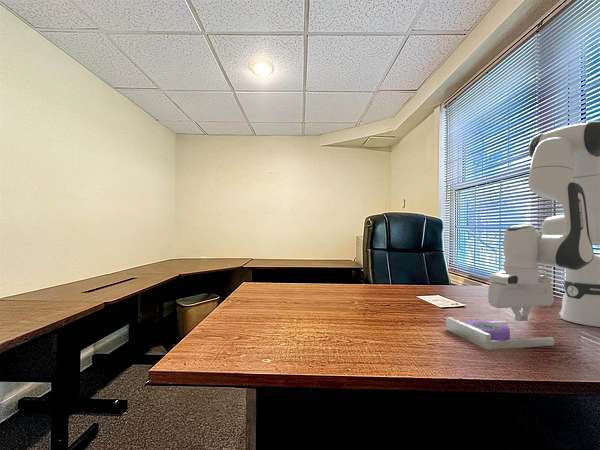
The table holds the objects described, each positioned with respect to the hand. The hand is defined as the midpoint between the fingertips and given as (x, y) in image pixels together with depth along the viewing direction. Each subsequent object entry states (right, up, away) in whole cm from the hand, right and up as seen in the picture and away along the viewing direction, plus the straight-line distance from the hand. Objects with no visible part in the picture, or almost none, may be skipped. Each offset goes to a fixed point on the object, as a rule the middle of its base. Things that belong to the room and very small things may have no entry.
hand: (521, 320), depth 95 cm
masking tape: (-13, -5, -3) cm, 14 cm away
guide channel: (-8, -4, -2) cm, 10 cm away
